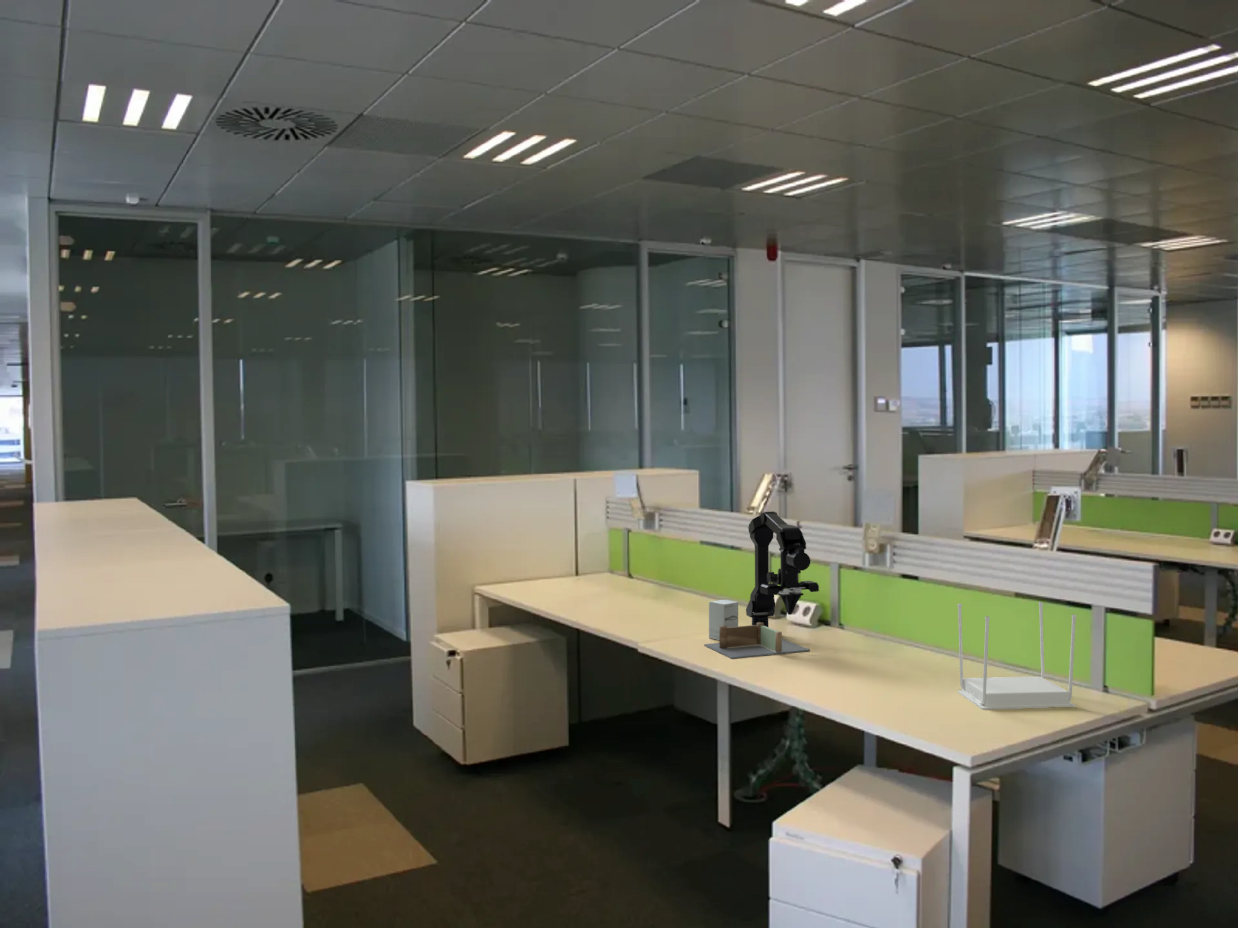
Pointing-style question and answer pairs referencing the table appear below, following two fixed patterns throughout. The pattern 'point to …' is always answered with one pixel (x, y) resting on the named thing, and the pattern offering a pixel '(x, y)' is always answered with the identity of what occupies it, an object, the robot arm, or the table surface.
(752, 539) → the robot arm
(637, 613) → the table surface
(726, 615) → the supplement box
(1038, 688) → the router
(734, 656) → the card
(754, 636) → the fixed fence section
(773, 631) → the hinged fence panel
